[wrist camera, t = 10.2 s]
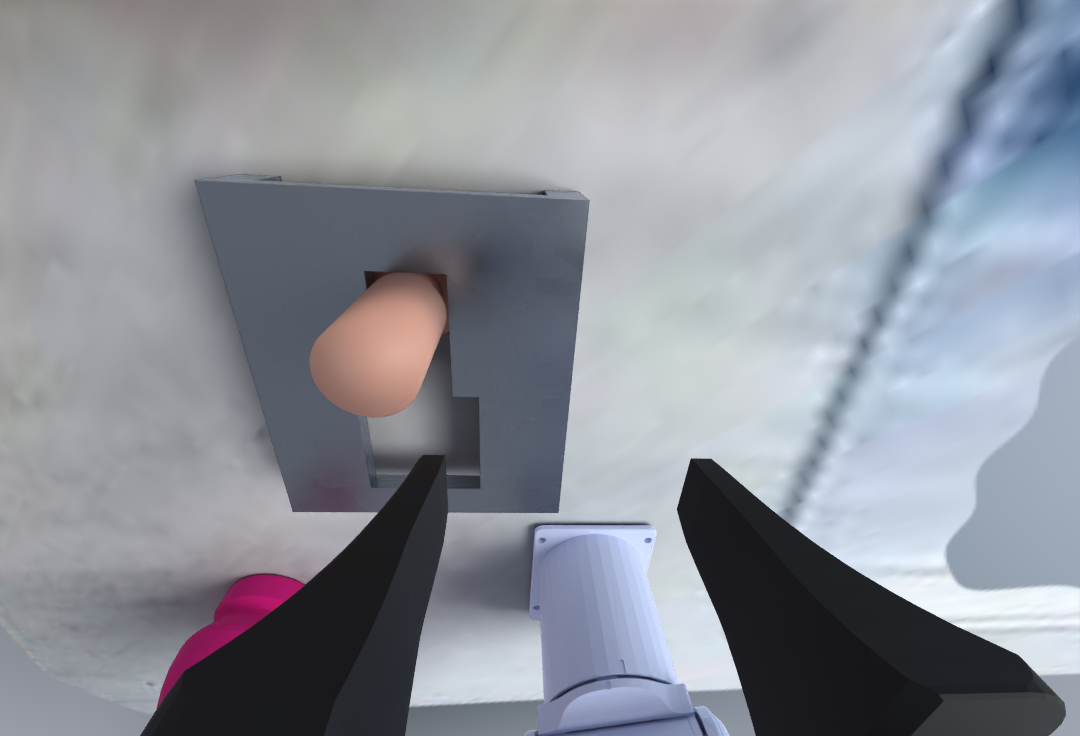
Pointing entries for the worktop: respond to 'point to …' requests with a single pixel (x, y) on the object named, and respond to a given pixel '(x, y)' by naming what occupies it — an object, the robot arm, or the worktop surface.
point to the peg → (382, 344)
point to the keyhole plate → (474, 323)
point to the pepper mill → (232, 620)
